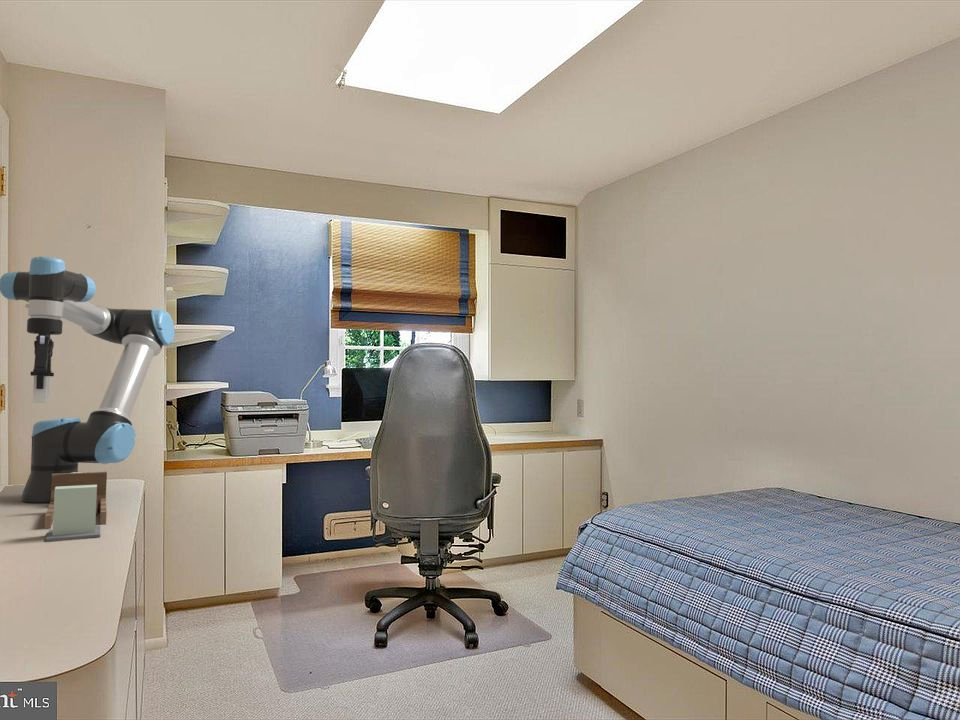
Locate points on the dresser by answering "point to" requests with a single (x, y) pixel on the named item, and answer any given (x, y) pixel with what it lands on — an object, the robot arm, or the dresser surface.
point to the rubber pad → (73, 535)
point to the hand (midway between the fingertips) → (41, 402)
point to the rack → (77, 480)
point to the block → (74, 509)
